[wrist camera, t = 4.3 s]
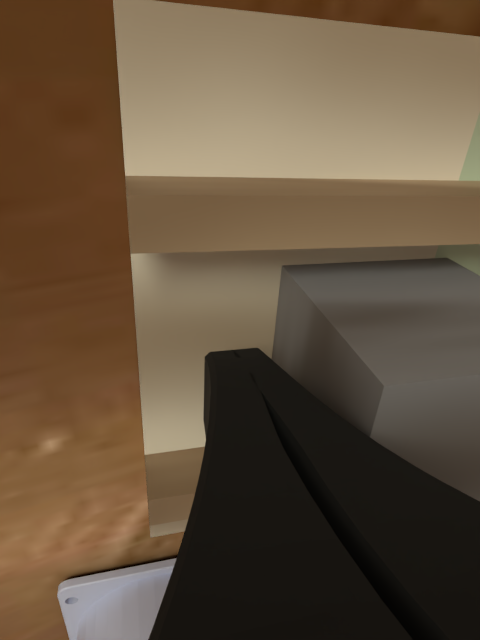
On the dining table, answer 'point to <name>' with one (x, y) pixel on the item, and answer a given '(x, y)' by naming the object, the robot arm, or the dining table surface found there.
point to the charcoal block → (391, 355)
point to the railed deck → (274, 184)
